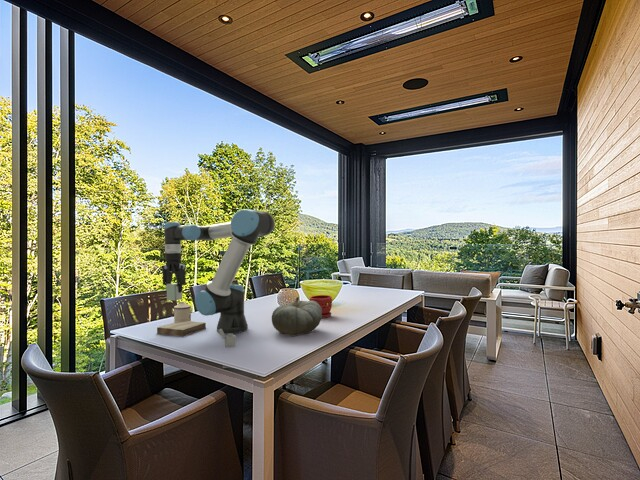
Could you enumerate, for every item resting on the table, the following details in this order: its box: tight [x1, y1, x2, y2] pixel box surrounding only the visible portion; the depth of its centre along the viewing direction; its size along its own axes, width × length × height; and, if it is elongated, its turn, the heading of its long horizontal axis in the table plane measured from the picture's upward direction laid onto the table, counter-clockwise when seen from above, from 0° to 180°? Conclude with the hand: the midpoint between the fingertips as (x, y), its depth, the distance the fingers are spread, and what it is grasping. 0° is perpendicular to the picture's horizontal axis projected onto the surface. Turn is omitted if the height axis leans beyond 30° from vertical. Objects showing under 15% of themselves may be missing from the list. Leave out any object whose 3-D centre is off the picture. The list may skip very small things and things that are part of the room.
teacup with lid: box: [173, 300, 192, 323], centre depth 194 cm, size 12×9×12 cm
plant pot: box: [309, 294, 333, 319], centre depth 204 cm, size 13×13×12 cm
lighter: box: [218, 328, 237, 349], centre depth 146 cm, size 7×2×8 cm, turn 122°
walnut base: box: [156, 320, 207, 337], centre depth 173 cm, size 16×16×3 cm
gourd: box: [271, 297, 323, 337], centre depth 168 cm, size 25×25×17 cm
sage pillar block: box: [165, 282, 183, 301], centre depth 174 cm, size 5×5×8 cm
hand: (174, 298), depth 174 cm, fingers closed on sage pillar block, 5 cm apart
